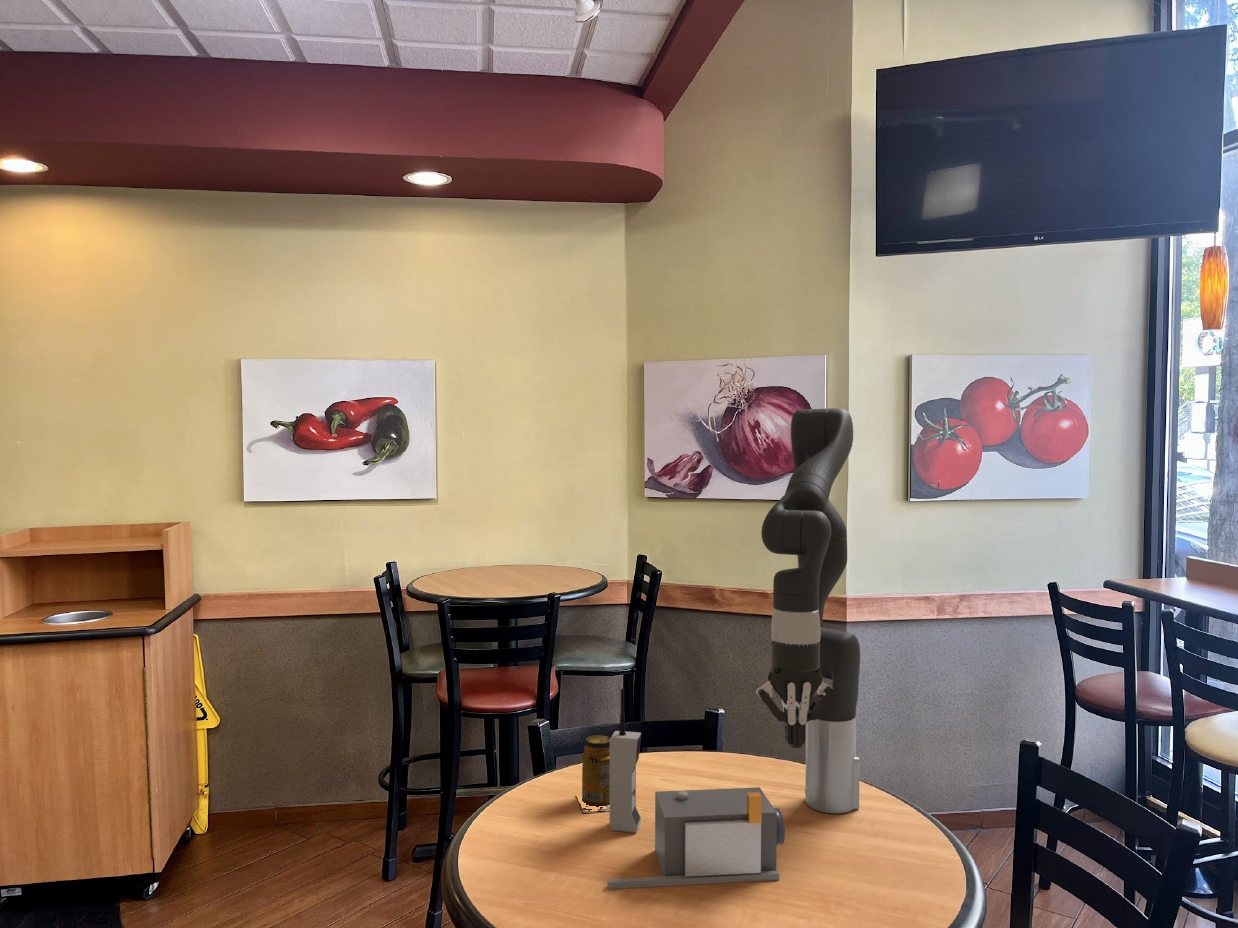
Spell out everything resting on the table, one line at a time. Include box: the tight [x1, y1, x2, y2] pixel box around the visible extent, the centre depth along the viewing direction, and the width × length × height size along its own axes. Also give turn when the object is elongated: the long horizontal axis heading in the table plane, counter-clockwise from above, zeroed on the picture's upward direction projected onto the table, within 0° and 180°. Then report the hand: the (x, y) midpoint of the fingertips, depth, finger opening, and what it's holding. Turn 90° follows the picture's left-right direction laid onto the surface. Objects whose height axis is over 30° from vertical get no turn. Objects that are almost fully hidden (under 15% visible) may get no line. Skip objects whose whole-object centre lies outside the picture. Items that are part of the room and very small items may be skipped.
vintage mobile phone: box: [609, 688, 642, 834], centre depth 151 cm, size 4×5×25 cm
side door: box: [684, 792, 762, 877], centre depth 133 cm, size 12×2×12 cm, turn 96°
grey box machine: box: [607, 786, 786, 890], centre depth 138 cm, size 29×12×11 cm, turn 96°
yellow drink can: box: [579, 734, 611, 814], centre depth 162 cm, size 7×8×12 cm
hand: (794, 746), depth 134 cm, fingers closed
